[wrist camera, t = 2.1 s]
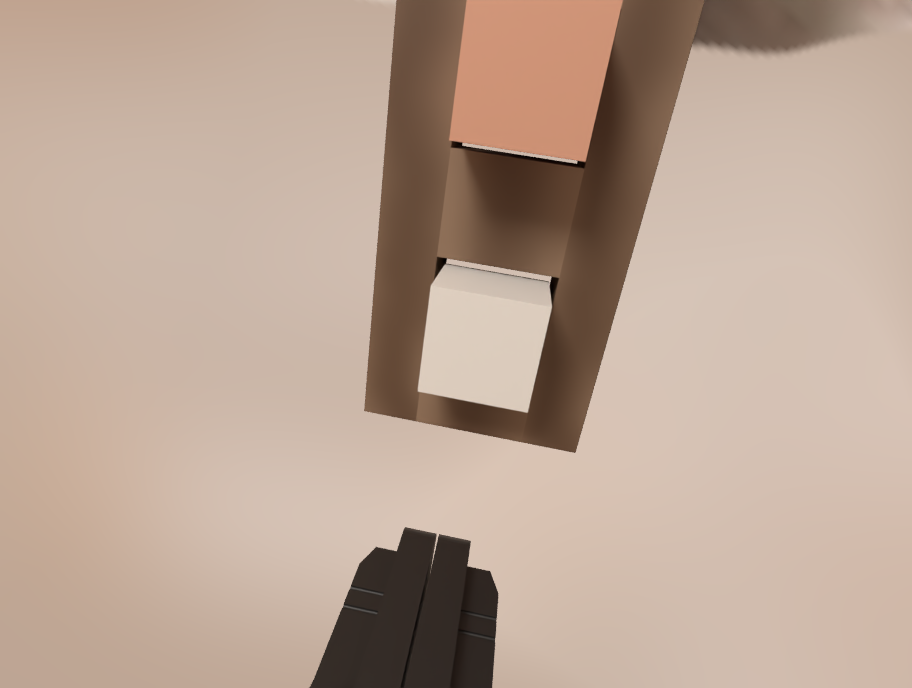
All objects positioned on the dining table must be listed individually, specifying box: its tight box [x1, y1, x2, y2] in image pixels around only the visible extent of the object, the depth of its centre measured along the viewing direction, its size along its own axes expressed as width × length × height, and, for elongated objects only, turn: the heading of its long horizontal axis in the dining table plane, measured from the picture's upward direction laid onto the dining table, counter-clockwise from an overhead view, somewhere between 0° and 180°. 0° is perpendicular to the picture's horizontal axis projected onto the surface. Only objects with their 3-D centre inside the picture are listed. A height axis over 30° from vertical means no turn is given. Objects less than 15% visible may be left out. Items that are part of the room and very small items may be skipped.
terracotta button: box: [449, 0, 623, 162], centre depth 20 cm, size 5×5×4 cm
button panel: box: [364, 0, 705, 453], centre depth 25 cm, size 12×24×4 cm, turn 172°
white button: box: [418, 264, 552, 413], centre depth 24 cm, size 5×5×4 cm
